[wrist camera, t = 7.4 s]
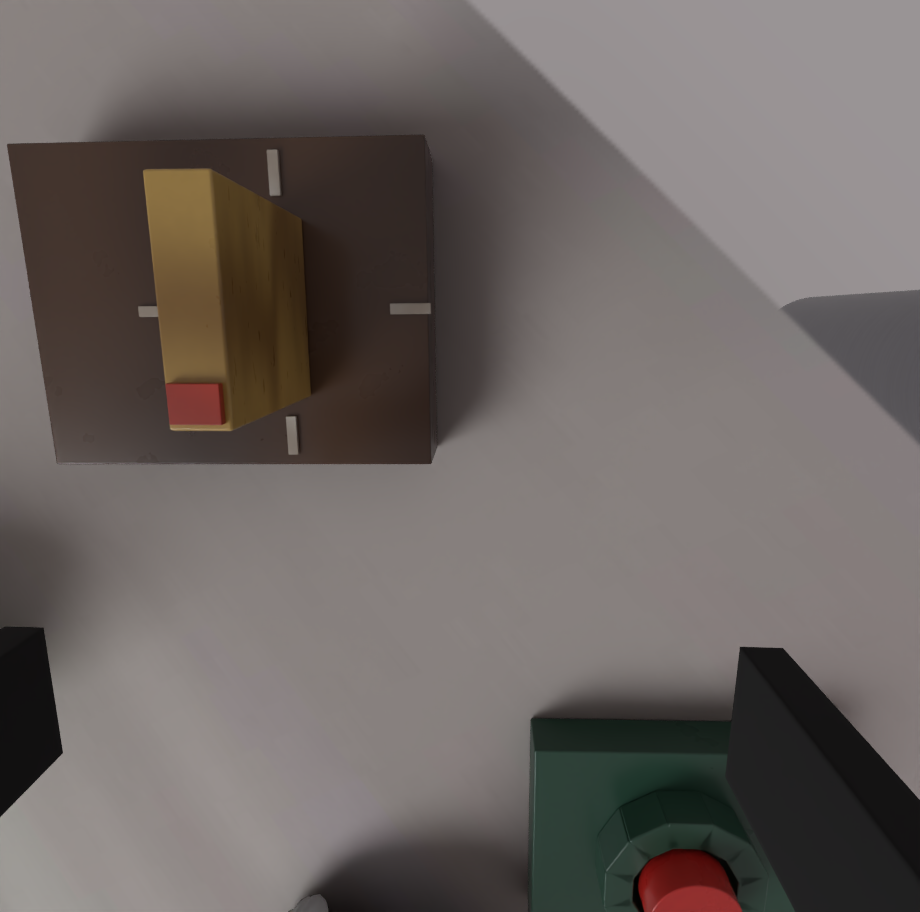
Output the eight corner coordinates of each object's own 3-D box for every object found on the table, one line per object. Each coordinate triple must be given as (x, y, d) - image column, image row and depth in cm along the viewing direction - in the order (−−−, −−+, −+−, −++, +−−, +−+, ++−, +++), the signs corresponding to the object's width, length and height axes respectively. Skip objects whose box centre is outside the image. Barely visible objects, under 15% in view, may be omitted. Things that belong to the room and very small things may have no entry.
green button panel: (800, 721, 27) (853, 789, 23) (778, 905, 29) (822, 994, 26) (530, 717, 28) (538, 782, 24) (527, 897, 30) (533, 984, 26)
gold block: (254, 218, 21) (135, 165, 14) (302, 218, 20) (206, 164, 13) (267, 396, 22) (163, 433, 15) (311, 396, 22) (229, 433, 15)
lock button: (730, 847, 25) (749, 887, 23) (723, 920, 25) (740, 963, 24) (640, 845, 25) (651, 884, 23) (635, 918, 26) (646, 960, 24)
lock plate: (434, 158, 23) (427, 132, 20) (440, 447, 25) (433, 465, 22) (65, 165, 23) (2, 141, 20) (105, 447, 26) (53, 465, 23)
